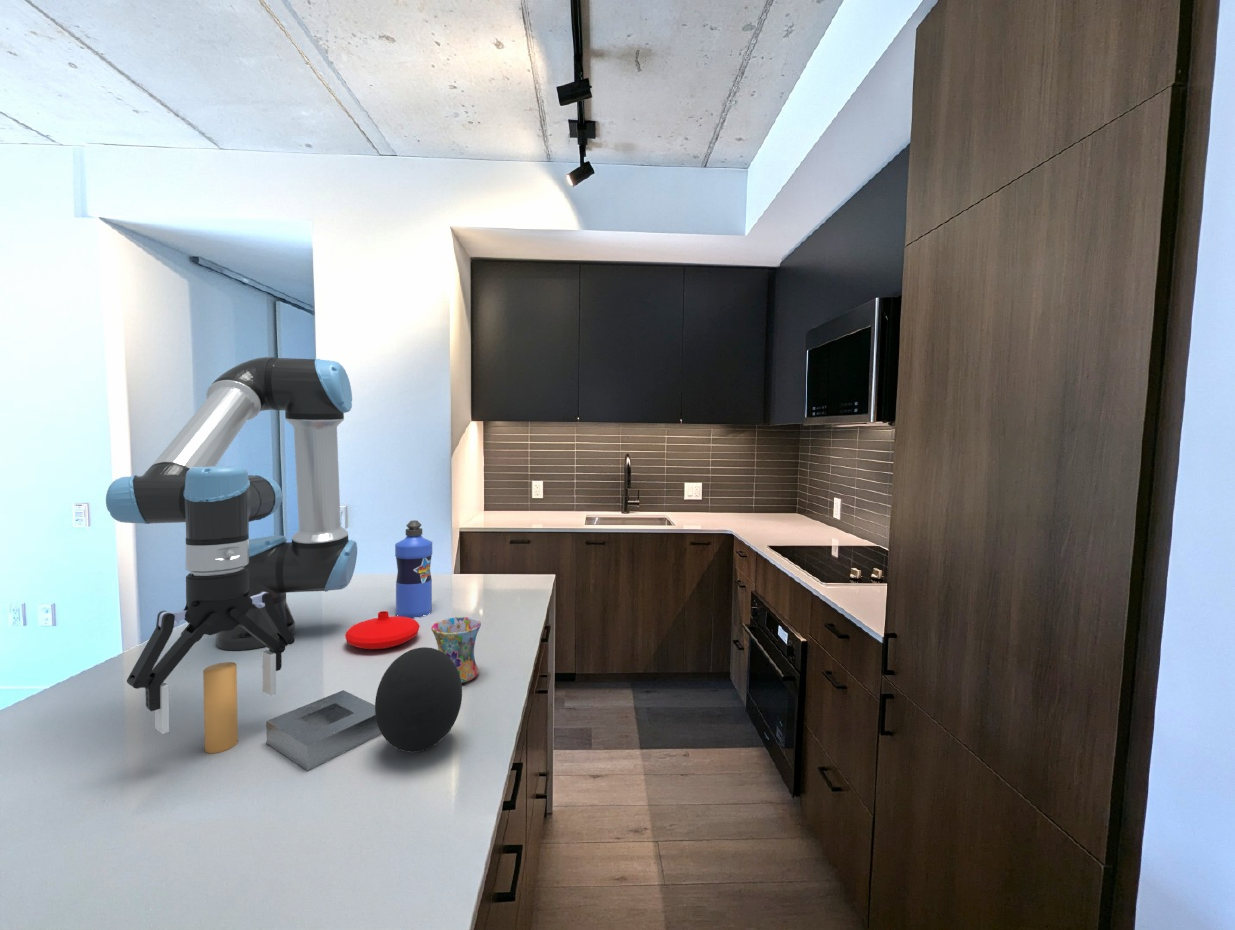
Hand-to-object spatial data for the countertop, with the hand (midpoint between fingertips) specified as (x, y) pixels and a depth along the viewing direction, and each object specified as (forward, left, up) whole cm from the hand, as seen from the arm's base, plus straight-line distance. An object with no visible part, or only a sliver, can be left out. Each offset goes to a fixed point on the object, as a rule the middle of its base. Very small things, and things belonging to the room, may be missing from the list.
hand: (219, 710), depth 78 cm
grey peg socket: (+11, +10, -6) cm, 16 cm away
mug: (+10, +36, -6) cm, 38 cm away
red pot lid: (-17, +38, -6) cm, 42 cm away
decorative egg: (+25, +17, -6) cm, 30 cm away
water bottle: (-29, +55, -6) cm, 63 cm away
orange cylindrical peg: (0, 0, -6) cm, 6 cm away
